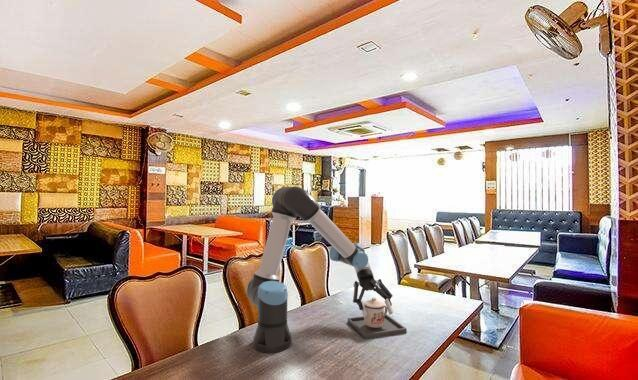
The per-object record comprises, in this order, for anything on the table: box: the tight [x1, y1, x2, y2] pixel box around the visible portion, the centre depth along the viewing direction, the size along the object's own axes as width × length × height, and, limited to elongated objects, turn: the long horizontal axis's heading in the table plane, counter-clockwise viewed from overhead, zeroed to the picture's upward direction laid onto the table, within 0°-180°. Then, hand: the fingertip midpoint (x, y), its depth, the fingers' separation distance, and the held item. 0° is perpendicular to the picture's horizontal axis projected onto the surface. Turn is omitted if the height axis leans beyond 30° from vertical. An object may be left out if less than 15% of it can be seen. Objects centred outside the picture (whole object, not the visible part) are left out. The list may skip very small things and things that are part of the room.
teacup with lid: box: [363, 296, 388, 328], centre depth 142 cm, size 12×9×12 cm
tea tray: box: [347, 314, 407, 340], centre depth 142 cm, size 20×18×2 cm
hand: (378, 315), depth 140 cm, fingers closed on teacup with lid, 12 cm apart
